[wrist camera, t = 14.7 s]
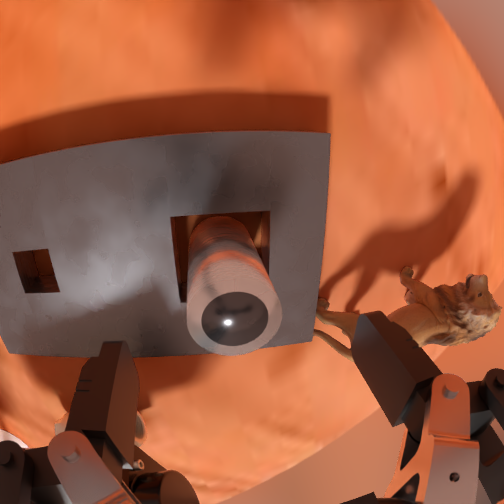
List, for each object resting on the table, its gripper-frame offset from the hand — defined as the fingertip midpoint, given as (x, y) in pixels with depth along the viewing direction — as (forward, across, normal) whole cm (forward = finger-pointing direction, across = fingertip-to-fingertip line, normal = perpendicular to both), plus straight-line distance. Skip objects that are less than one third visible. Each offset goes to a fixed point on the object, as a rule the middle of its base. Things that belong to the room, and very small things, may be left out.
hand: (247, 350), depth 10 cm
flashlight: (+11, 0, +1) cm, 11 cm away
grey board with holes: (+11, +6, 0) cm, 12 cm away
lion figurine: (+11, -13, +6) cm, 18 cm away
